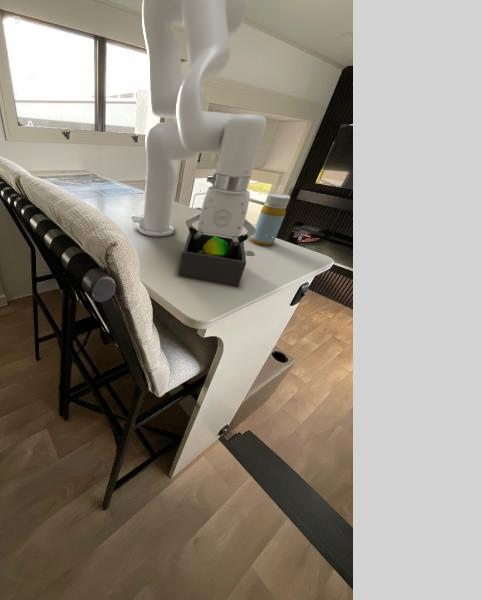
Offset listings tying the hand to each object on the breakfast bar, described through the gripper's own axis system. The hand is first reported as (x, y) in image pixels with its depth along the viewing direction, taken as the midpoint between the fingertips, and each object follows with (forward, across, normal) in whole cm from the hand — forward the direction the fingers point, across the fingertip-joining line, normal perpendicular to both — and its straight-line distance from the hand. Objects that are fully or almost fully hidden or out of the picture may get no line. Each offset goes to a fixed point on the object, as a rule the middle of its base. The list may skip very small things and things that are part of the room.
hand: (212, 254), depth 66 cm
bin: (+4, 0, 0) cm, 4 cm away
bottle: (+4, +16, +26) cm, 31 cm away
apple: (+2, 0, 0) cm, 2 cm away
